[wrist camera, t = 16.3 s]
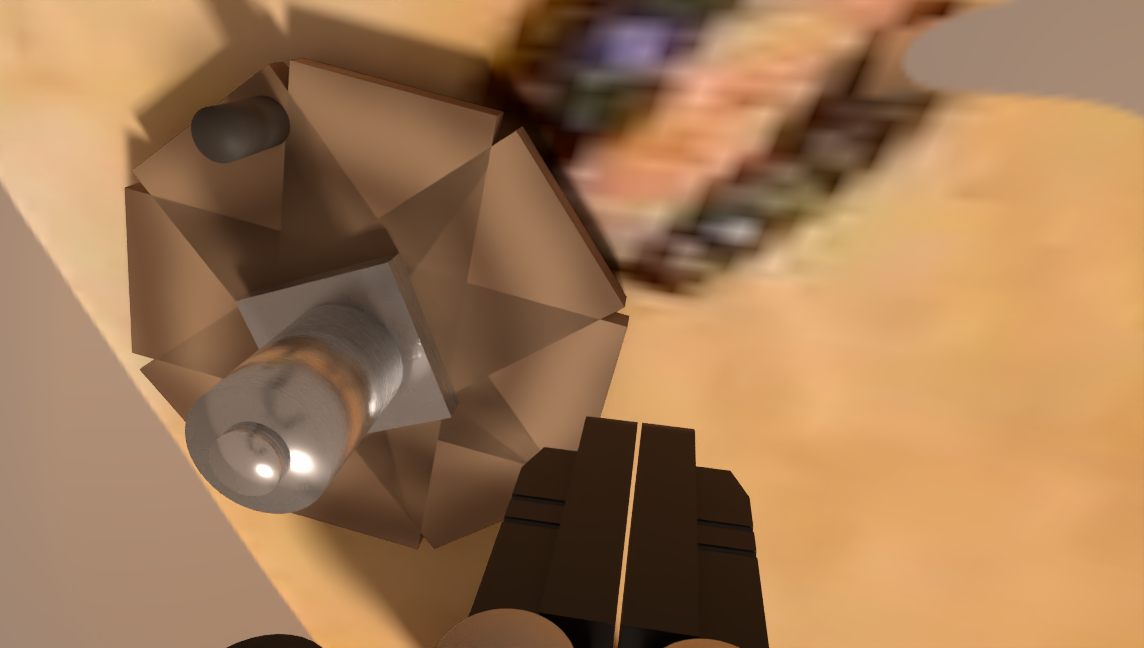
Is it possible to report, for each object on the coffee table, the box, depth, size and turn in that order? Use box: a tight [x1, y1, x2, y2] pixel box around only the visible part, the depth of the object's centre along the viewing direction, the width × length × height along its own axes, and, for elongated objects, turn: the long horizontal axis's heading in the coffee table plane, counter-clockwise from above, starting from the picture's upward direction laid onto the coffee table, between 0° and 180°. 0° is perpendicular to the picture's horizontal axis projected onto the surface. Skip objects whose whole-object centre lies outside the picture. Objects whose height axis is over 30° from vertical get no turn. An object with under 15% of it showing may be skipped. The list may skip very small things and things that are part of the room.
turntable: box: [125, 58, 629, 549], centre depth 37 cm, size 27×27×5 cm
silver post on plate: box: [185, 253, 459, 514], centre depth 34 cm, size 9×9×11 cm
